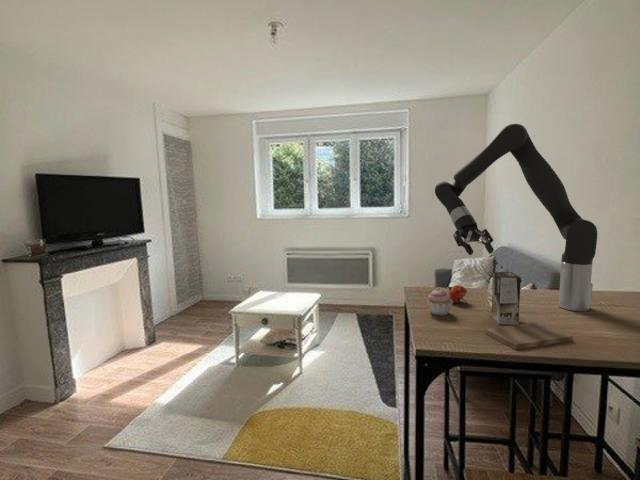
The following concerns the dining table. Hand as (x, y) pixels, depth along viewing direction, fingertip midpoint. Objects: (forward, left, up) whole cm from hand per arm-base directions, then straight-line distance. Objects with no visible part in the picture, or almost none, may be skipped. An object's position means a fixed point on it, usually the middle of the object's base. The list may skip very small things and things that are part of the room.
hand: (481, 253), depth 129 cm
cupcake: (+17, 0, -22) cm, 28 cm away
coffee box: (0, +13, -22) cm, 25 cm away
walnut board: (+4, +27, -21) cm, 34 cm away
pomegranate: (+3, -9, -22) cm, 24 cm away
